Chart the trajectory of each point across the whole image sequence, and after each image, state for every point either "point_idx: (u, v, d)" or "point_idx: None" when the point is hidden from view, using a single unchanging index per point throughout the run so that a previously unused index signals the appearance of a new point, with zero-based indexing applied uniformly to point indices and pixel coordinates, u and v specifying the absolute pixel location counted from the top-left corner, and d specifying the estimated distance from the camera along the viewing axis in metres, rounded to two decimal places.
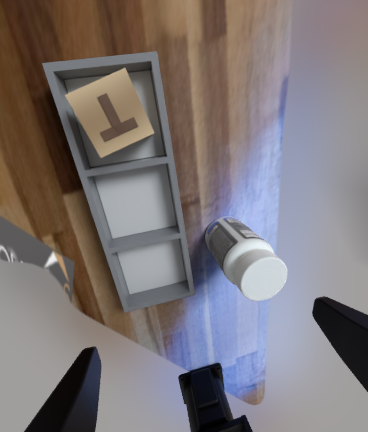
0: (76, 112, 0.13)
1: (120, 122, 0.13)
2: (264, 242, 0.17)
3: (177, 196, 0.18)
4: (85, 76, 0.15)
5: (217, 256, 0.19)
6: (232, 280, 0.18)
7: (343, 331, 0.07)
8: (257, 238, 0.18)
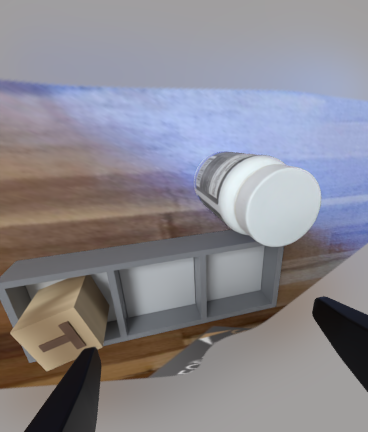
0: (61, 363, 0.14)
1: (65, 335, 0.13)
2: (229, 178, 0.11)
3: (153, 260, 0.15)
4: None
5: None
6: None
7: (343, 331, 0.07)
8: (221, 185, 0.11)
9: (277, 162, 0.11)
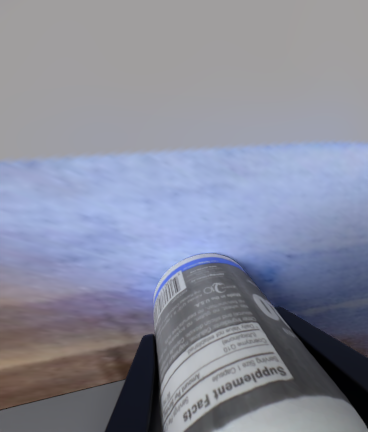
0: None
1: None
2: None
3: None
4: None
5: None
6: None
7: None
8: None
9: None
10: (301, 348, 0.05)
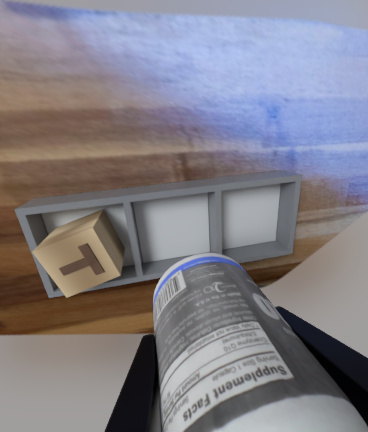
0: (80, 290, 0.14)
1: (84, 258, 0.14)
2: None
3: (169, 193, 0.15)
4: None
5: None
6: None
7: None
8: None
9: None
10: (301, 347, 0.05)
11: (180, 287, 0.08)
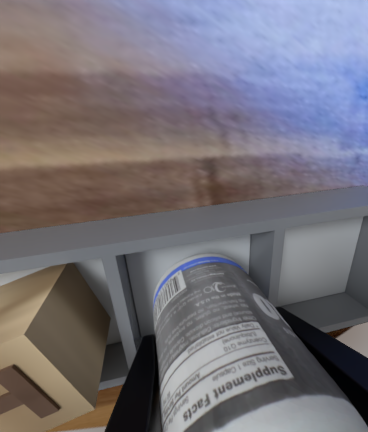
0: None
1: (11, 392, 0.06)
2: None
3: (192, 236, 0.08)
4: None
5: None
6: None
7: None
8: None
9: None
10: (301, 347, 0.05)
11: (180, 287, 0.08)
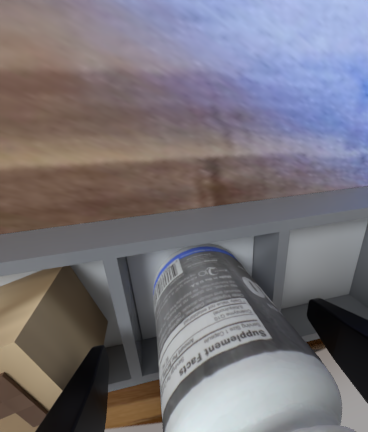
0: None
1: (1, 401, 0.06)
2: (182, 422, 0.04)
3: (195, 238, 0.08)
4: None
5: None
6: None
7: (336, 333, 0.07)
8: (168, 418, 0.05)
9: (302, 385, 0.04)
10: (282, 319, 0.06)
11: (177, 272, 0.08)
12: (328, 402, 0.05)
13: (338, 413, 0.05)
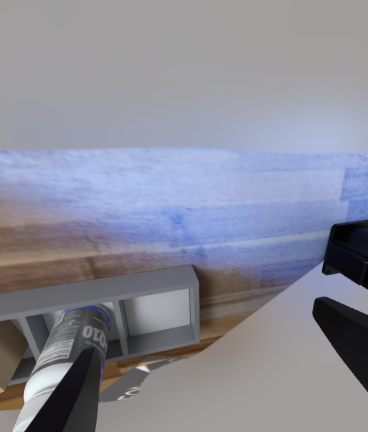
0: None
1: None
2: (26, 387, 0.13)
3: (65, 306, 0.16)
4: None
5: None
6: None
7: (343, 331, 0.07)
8: (26, 386, 0.13)
9: None
10: None
11: (59, 321, 0.17)
12: None
13: None
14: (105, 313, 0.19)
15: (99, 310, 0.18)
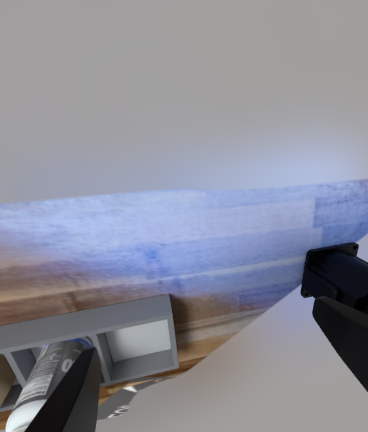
0: None
1: None
2: (7, 422, 0.14)
3: (46, 341, 0.18)
4: None
5: None
6: None
7: (343, 331, 0.07)
8: (8, 421, 0.15)
9: None
10: None
11: (42, 354, 0.18)
12: None
13: None
14: (87, 343, 0.20)
15: (81, 341, 0.20)
